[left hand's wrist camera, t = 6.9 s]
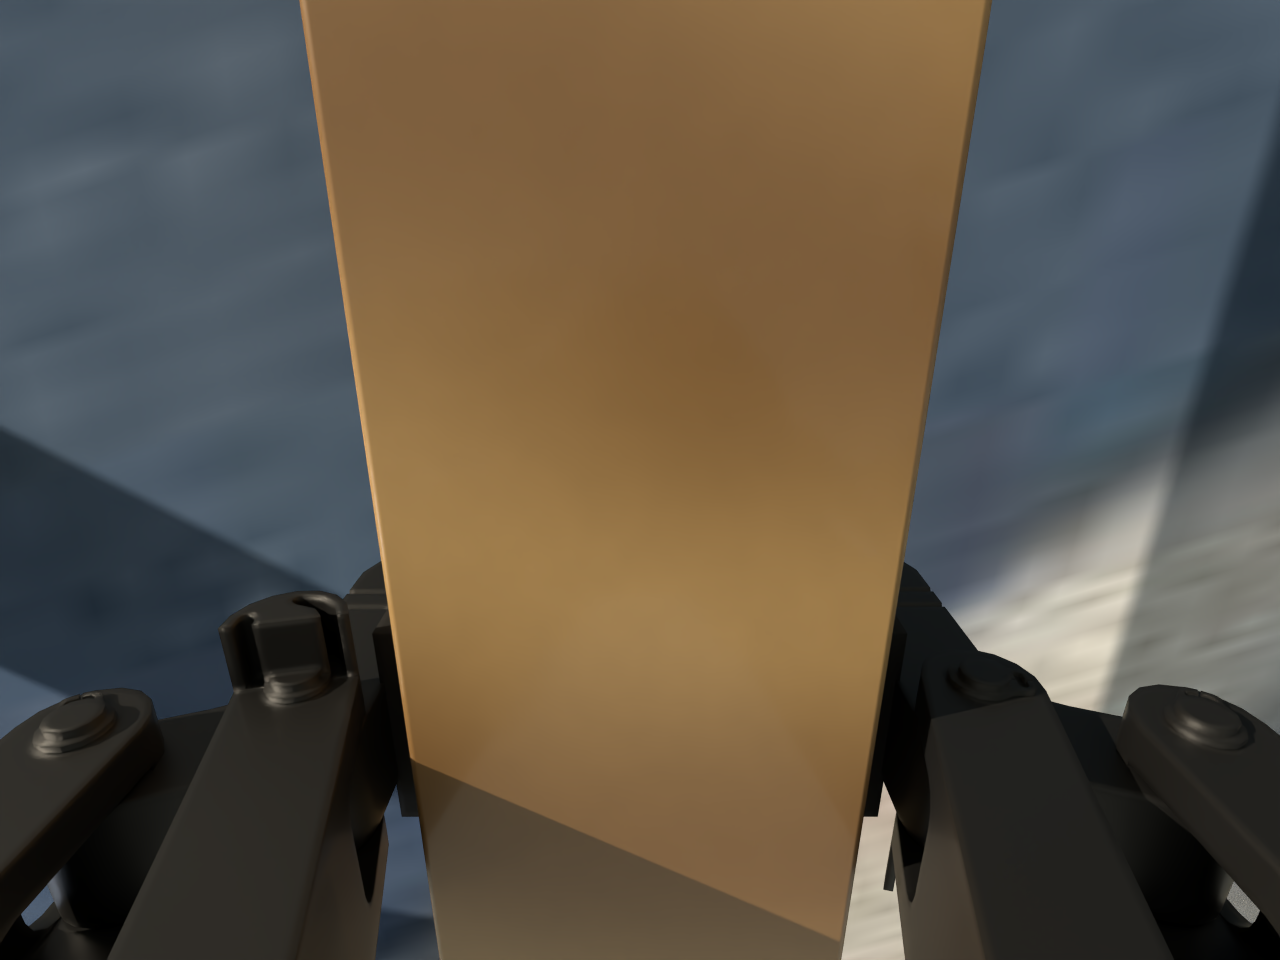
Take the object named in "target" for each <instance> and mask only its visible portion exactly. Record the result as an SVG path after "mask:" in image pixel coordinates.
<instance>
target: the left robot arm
mask: <svg viewBox="0 0 1280 960" xmlns="http://www.w3.org/2000/svg"><path fill="white" fill-rule="evenodd" d="M218 631H219V635H220V639H221V643H222V647H223V651H224V654H225V658H226V662H227V666H228V670H229V674H230V678H231V682H232V686H233V690H234V693H233V695H232V697H231V699H230V701H229V704H228V705H225V706H222V707H218V708H214V709H210V710H205V711H200V712H195V713H190V714H185V715H180V716H175V717H170V718H165V719H160V720H158V719H157V716H156V712H155V709H154V706H153V703H152V700H151V699H150V698H149V697H148V696H147V695H146V694H144V693H143V692H142V691H139V690H133V689H126V688H115V689H106V690H96V691H91V692H86V693H83V694H82V695H80V694H78V695H75V696H72V697H69V698H66V699H64V700H62V701H61V702H59V703H57V704H55V705H53V706H50V707H48V708H46V709H44V710H42V711H39V712H38V713H36V714H35V715H33V716H32V717H30V718H29V719H27V720H26V721H24V722H23V723H21V724H20V725H18V726H17V727H15V728H14V729H13V730H12V731H10V732H9V733H8V734H7V735H5V736H4V737H3V738H2V739H1V740H0V960H375V955H376V947H377V938H378V930H379V922H380V913H381V905H382V896H383V888H384V880H385V871H386V863H387V854H388V846H389V843H388V836H387V829H386V823H385V817H384V812H385V810H386V807H387V805H388V803H389V800H390V798H391V796H392V793H393V791H394V788H395V786H396V784H397V790H398V796H399V802H400V808H401V814H402V817H419V814H418V807H417V800H416V793H415V787H414V780H413V773H412V766H411V759H410V752H409V746H408V739H407V732H406V725H405V718H404V711H403V705H402V698H401V691H400V684H399V677H398V670H397V663H396V657H395V650H394V643H393V636H392V629H391V622H390V616H389V609H388V602H387V595H386V588H385V581H384V575H383V568H382V561H381V562H379V563H377V564H376V565H374V566H373V567H371V568H369V569H368V570H366V571H365V572H363V574H362V575H361V576H360V578H359V579H358V580H357V581H356V583H355V584H354V585H353V587H352V588H351V589H350V594H347V595H346V596H345V597H344V599H341V598H340V597H339V596H338V595H336V594H331V593H327V592H322V591H296V592H290V593H285V594H280V595H275V596H271V597H268V598H266V599H263V600H260V601H257V602H255V603H252V604H249V605H248V606H246V607H244V608H243V609H241V610H239V611H238V612H236V613H234V614H232V615H231V616H230V617H229V618H228V619H227V620H226V621H225V622H224V623H223V624H222V625H221V626H220V627H219V628H218ZM883 781H884V784H885V786H886V788H887V791H888V793H889V795H890V798H891V800H892V802H893V805H894V807H895V809H896V817H895V823H894V829H893V835H892V840H891V846H890V852H889V857H888V863H887V869H886V875H885V882H884V889H883V890H888V891H893V888H894V882H895V878H896V886H897V895H898V903H899V912H900V920H901V928H902V937H903V945H904V954H905V960H1280V735H1278V734H1277V733H1276V732H1275V731H1274V730H1272V729H1271V728H1270V727H1269V726H1267V725H1266V724H1265V723H1263V722H1262V721H1260V720H1259V719H1257V718H1256V717H1254V716H1253V715H1251V714H1250V713H1248V712H1247V711H1245V710H1243V709H1242V708H1240V707H1238V706H1236V705H1233V704H1231V703H1229V702H1227V701H1224V700H1222V699H1220V698H1219V697H1217V696H1215V695H1213V694H1209V693H1206V692H1203V691H1201V692H1199V691H1198V690H1196V689H1191V688H1187V687H1178V686H1168V685H1152V686H1146V687H1140V688H1138V689H1137V690H1136V691H1135V692H1133V693H1132V694H1131V695H1130V696H1129V698H1128V701H1127V704H1126V707H1125V711H1124V714H1123V717H1121V716H1116V715H1111V714H1106V713H1101V712H1096V711H1091V710H1086V709H1081V708H1076V707H1071V706H1066V705H1063V704H1059V703H1055V702H1051V700H1050V698H1049V696H1048V694H1047V692H1046V690H1045V689H1044V688H1043V686H1042V685H1041V684H1040V683H1039V681H1038V680H1037V679H1036V678H1035V676H1033V675H1032V674H1030V673H1029V672H1027V671H1026V670H1024V669H1023V668H1022V667H1020V666H1019V665H1017V664H1015V663H1013V662H1011V661H1008V660H1006V659H1004V658H1001V657H999V656H997V655H994V654H990V653H985V652H981V651H978V650H977V649H976V647H975V646H974V645H973V643H972V642H971V641H970V640H969V638H968V637H967V636H966V634H965V633H964V632H963V630H962V629H961V628H960V626H959V625H958V624H957V622H956V621H955V620H954V618H953V617H952V616H951V615H950V613H949V612H948V611H947V609H946V608H945V607H942V603H941V601H940V600H939V599H938V597H937V596H936V595H935V594H934V592H930V587H929V586H928V584H927V583H926V582H925V580H924V579H923V578H922V576H921V575H920V574H919V573H918V571H917V570H916V569H914V568H913V567H911V566H909V565H908V564H906V563H905V562H904V563H903V569H902V576H901V582H900V589H899V595H898V601H897V608H896V614H895V620H894V627H893V633H892V639H891V646H890V652H889V658H888V665H887V671H886V677H885V684H884V690H883V696H882V703H881V709H880V716H879V722H878V728H877V735H876V741H875V747H874V754H873V760H872V766H871V773H870V779H869V785H868V792H867V798H866V804H865V811H864V817H878V812H879V805H880V799H881V793H882V787H883ZM1233 882H1235V883H1236V884H1237V885H1238V886H1239V887H1240V888H1241V889H1242V891H1243V892H1244V893H1245V894H1246V895H1247V896H1248V897H1249V898H1250V900H1251V901H1252V902H1253V903H1254V904H1255V905H1256V906H1257V907H1258V908H1259V910H1260V912H1259V914H1258V917H1257V919H1256V921H1255V922H1254V923H1253V924H1252V923H1250V922H1249V921H1248V920H1246V919H1245V918H1244V917H1243V916H1242V915H1241V914H1240V913H1239V912H1238V911H1237V910H1236V909H1235V908H1234V906H1233V905H1232V904H1231V903H1230V902H1229V901H1228V899H1227V896H1228V893H1229V891H1230V889H1231V886H1232V884H1233ZM46 885H47V886H48V888H49V890H50V893H51V895H52V897H53V900H54V902H53V903H52V904H51V905H50V907H49V908H48V909H47V910H46V911H45V912H44V914H43V915H42V916H41V917H39V918H38V919H37V920H36V921H35V922H34V923H32V924H31V925H30V926H27V925H26V924H25V922H24V920H23V918H22V916H21V913H22V912H23V911H24V910H25V909H26V908H27V907H28V906H29V904H30V903H31V902H32V901H33V900H34V899H35V898H36V897H37V895H38V894H39V893H40V892H41V891H42V890H43V889H44V887H45V886H46Z"/></svg>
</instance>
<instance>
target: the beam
mask: <svg viewBox="0 0 1280 960" xmlns="http://www.w3.org/2000/svg"><path fill="white" fill-rule="evenodd" d="M991 4H992V0H300V7H301V14H302V21H303V28H304V35H305V41H306V48H307V55H308V62H309V69H310V76H311V82H312V89H313V96H314V103H315V110H316V117H317V123H318V130H319V137H320V144H321V151H322V158H323V164H324V171H325V178H326V185H327V192H328V199H329V205H330V212H331V219H332V226H333V233H334V240H335V246H336V253H337V260H338V267H339V274H340V281H341V287H342V294H343V301H344V308H345V315H346V322H347V328H348V335H349V342H350V349H351V356H352V363H353V370H354V376H355V383H356V390H357V397H358V404H359V411H360V417H361V424H362V431H363V438H364V445H365V452H366V458H367V465H368V472H369V479H370V486H371V493H372V499H373V506H374V513H375V520H376V527H377V534H378V540H379V547H380V554H381V561H382V568H383V575H384V581H385V588H386V595H387V602H388V609H389V616H390V622H391V629H392V636H393V643H394V650H395V657H396V663H397V670H398V677H399V684H400V691H401V698H402V705H403V711H404V718H405V725H406V732H407V739H408V746H409V752H410V759H411V766H412V773H413V780H414V787H415V793H416V800H417V807H418V814H419V821H420V828H421V834H422V841H423V848H424V855H425V862H426V869H427V875H428V882H429V889H430V896H431V903H432V910H433V916H434V923H435V930H436V937H437V944H438V951H439V957H440V960H841V957H842V951H843V944H844V938H845V931H846V925H847V919H848V912H849V906H850V900H851V893H852V887H853V881H854V874H855V868H856V862H857V855H858V849H859V843H860V836H861V830H862V823H863V817H864V811H865V804H866V798H867V792H868V785H869V779H870V773H871V766H872V760H873V754H874V747H875V741H876V735H877V728H878V722H879V716H880V709H881V703H882V696H883V690H884V684H885V677H886V671H887V665H888V658H889V652H890V646H891V639H892V633H893V627H894V620H895V614H896V608H897V601H898V595H899V589H900V582H901V576H902V569H903V563H904V557H905V550H906V544H907V538H908V531H909V525H910V519H911V512H912V506H913V500H914V493H915V487H916V481H917V474H918V468H919V461H920V455H921V449H922V442H923V436H924V430H925V423H926V417H927V411H928V404H929V398H930V392H931V385H932V379H933V373H934V366H935V360H936V354H937V347H938V341H939V334H940V328H941V322H942V315H943V309H944V303H945V296H946V290H947V284H948V277H949V271H950V265H951V258H952V252H953V246H954V239H955V233H956V227H957V220H958V214H959V207H960V201H961V195H962V188H963V182H964V176H965V169H966V163H967V157H968V150H969V144H970V138H971V131H972V125H973V119H974V112H975V106H976V99H977V93H978V87H979V80H980V74H981V68H982V61H983V55H984V49H985V42H986V36H987V30H988V23H989V17H990V11H991Z"/></svg>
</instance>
